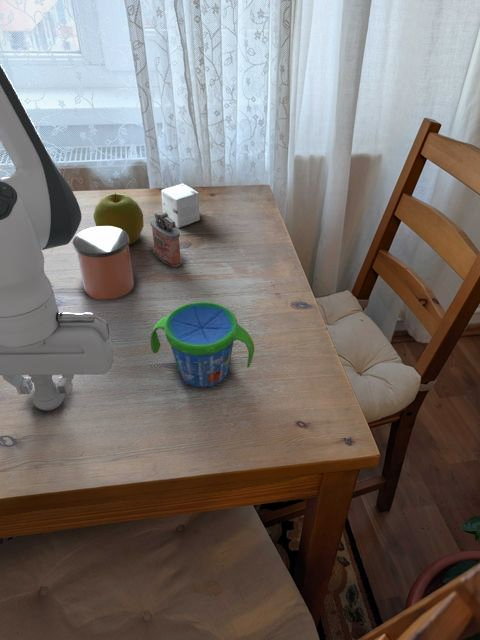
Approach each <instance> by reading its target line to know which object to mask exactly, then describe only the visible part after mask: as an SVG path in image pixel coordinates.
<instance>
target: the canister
mask: <svg viewBox="0 0 480 640" xmlns="http://www.w3.org/2000/svg"><path fill="white" fill-rule="evenodd" d="M128 244H129V238H128V235H127V233H126V232H125V231H123V230H121V229H119V228H116V227H110V226H99V227H96V226H93V227H89V228H87V229H84V230H81V231H80V232H78V233H77V234H75V235H74V237H73V238H72V245H73V249H74V251H75V254H76V259H77V263H78V268H79V271H80V276H81V280H82V284H83V289H84V292H85V293H86V294H87V296H89V297H91V298H93V299H97V300H114V299H118V298H121V297H123V296H125V295H127V294H129V293H130V292H131V291H132V290H133V288H134V286H135V282H134V281H135V280H134V273H133V268H132V260H131V253H130V247H129V245H130V244H129V245H128Z"/></svg>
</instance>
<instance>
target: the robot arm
mask: <svg viewBox="0 0 480 640" xmlns="http://www.w3.org/2000/svg"><path fill="white" fill-rule="evenodd" d="M0 143H1V145H2V146H3V148H4V150H5V152H6V153H7V155H8V157H9V159H10V161H11V162H12V164H13V166H14V169H15V172H14V173H12V174H11V175H8V176H4V177H0V376H2V379H3V381H6V382H7V383H9V384H10V385H11V386H13V387H14V388H15V389H16V391H17V395H31V393H32V391H33V382H32V381H31V377H24V376H29V375H52V376H59V379H58V383H57V384H56V385H57V387H58V390H59V393H60V394H64V395H70V394H71V393H72V390H73V382H72V381H73V379H74V376H75V375H106V374H108V372H109V371H110V370H112V367H113V363H114V358H115V357H114V356H115V352H114V348H113V345H112V341H111V339H110V335H111V333H110V328H109V323H108V321H107V320H106V319H104V318H103V317H100V316H97V315H95V313H94V312H93V313H92V312H83V313H75V312H60V311H59V307H58V304H57V300H56V296H55V293H54V292H55V291H54V290H53V289H54V288H53V286H52V283H51V281H50V278H48V276H47V275H46V273H45V256H44V252H43V251H44V250H50V249H52V248H57V247H62V246H66V245H69V244H70V243H71V241H73V239H74V237H75V236H76V233H77V231H78V230H79V227H80V225H81V223H82V210H81V207H80V204H79V202H78V200H77V197H76V195H75V193H74V191H73V189H72V188H71V186H70V184H69V183H68V182H67V180H66V177H64V176H63V173H62V172H61V171H60V169H59V167H58V166H57V164H56V163H55V161H54V160H53V158H52V156H51V154H50V153H49V151H48V149H47V147H46V145H45V143H44V142H43V140H42V138H41V136H40V134H39V132H38V130H37V129H36V127H35V125H34V122H33V121H32V119H31V117H30V115H29V113H28V111H27V109H26V108H25V106H24V104H23V102H22V100H21V98H20V97H19V94H18V93H17V91H16V89H15V87H14V85H13V83H12V81H11V80H10V78H9V76H8V74H7V72H6V71H5V69H4V67H3V65H2V64H1V63H0ZM60 376H61V377H60Z"/></svg>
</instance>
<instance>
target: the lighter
mask: <svg viewBox="0 0 480 640" xmlns="http://www.w3.org/2000/svg"><path fill="white" fill-rule="evenodd" d="M149 223H150V227H151V231H152V240H153V253H154V254H155V256H156V257H157V258H158V259H159V260H161V261H162V262H163V263H164V264H167V265H169V266H170V267H179V266H180V265H181V264H182V263H183V261H182V259H181V246H180V237H181V233H180V230H179V229H178V227H176V225H175V221H174V220H172V219H171V218H169V216H168V214H167V213H166V212H165V213H163V211H161V210H155V211H154V218H152V219H150V221H149Z"/></svg>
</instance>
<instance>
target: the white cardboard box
mask: <svg viewBox="0 0 480 640" xmlns="http://www.w3.org/2000/svg"><path fill="white" fill-rule="evenodd" d="M160 191H161V203H162V213H165V212H166V213H167V214H168V216H169V218H171V219H172V220H174V221H175V225H176V228H177V229H178V228H182V227H185V226H188V225H190V224H193V223H195V222H198V221H200V219H201V218H200V215H201V214H200V192H199V191H196V190H195V189H193V188H192V187H190V186H188V185H187V184H185V183H180V184H177V185H173V186H170V187H167V188H163V189H161V190H160Z"/></svg>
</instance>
